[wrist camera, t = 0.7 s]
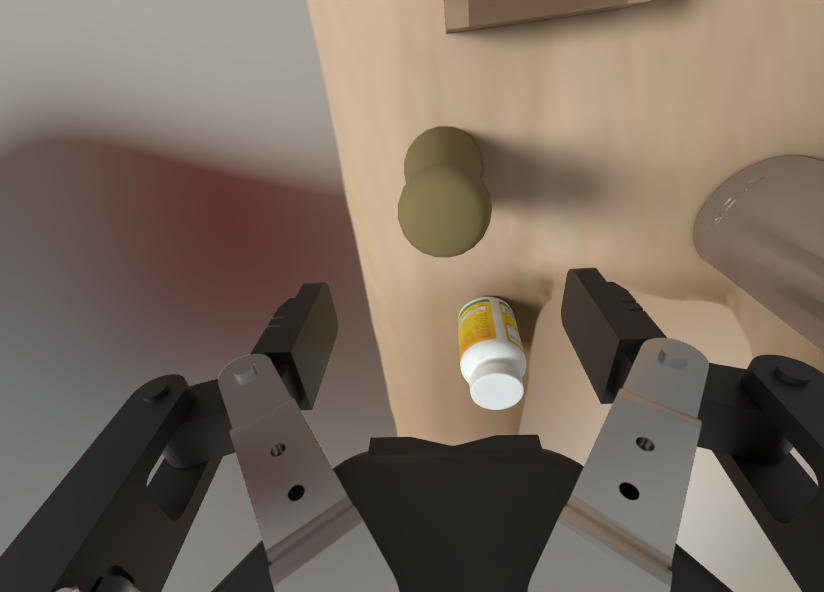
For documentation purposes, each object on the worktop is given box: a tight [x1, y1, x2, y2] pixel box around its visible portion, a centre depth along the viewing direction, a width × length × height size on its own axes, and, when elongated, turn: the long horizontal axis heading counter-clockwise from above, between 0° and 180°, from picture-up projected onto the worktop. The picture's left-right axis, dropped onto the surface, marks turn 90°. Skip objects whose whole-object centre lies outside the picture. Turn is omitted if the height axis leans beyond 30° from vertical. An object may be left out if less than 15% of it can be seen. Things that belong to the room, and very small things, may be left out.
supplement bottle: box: [458, 297, 526, 410], centre depth 32 cm, size 5×5×10 cm
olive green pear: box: [398, 127, 492, 257], centre depth 23 cm, size 6×6×11 cm
